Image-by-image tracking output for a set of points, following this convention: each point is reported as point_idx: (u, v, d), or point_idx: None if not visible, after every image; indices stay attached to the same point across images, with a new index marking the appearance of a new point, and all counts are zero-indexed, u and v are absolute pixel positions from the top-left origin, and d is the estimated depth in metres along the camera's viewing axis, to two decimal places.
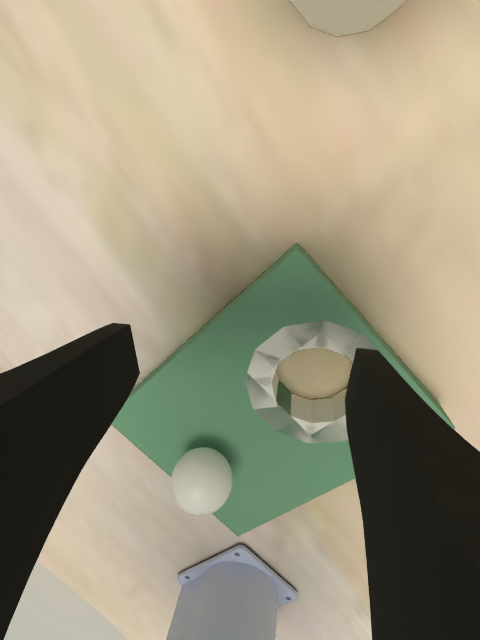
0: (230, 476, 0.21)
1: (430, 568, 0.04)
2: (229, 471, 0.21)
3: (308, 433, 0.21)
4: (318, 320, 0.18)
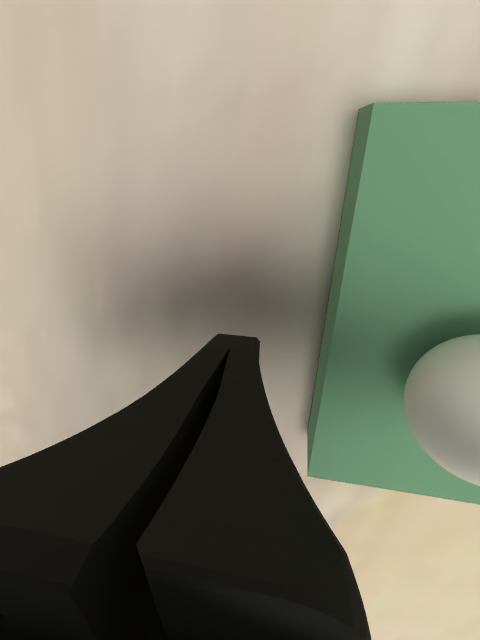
0: None
1: None
2: None
3: None
4: None
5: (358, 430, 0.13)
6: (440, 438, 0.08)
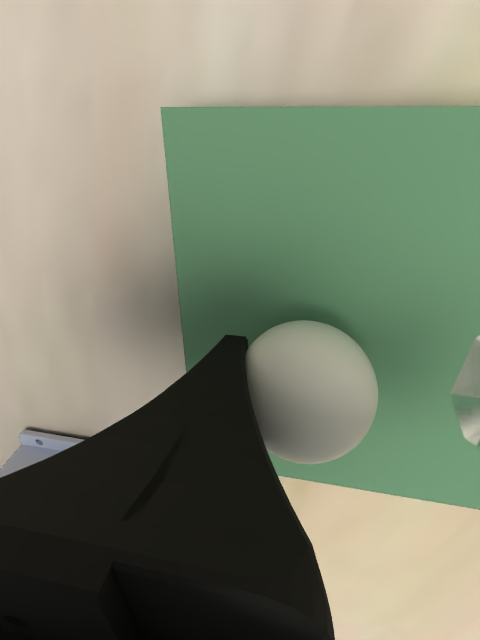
0: None
1: None
2: None
3: None
4: None
5: None
6: None
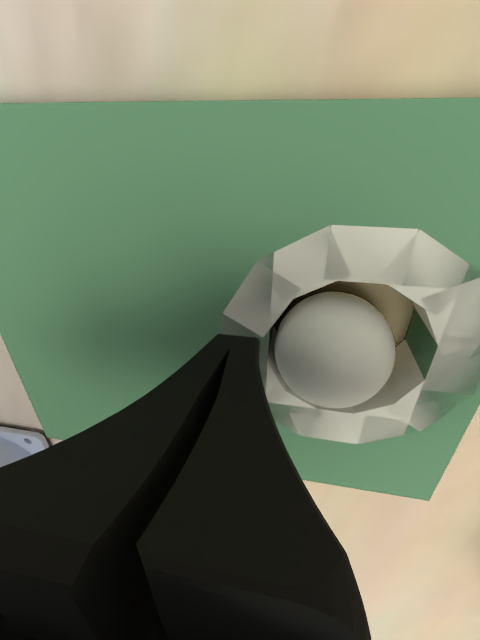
0: (347, 398, 0.10)
1: None
2: (354, 393, 0.10)
3: None
4: (477, 267, 0.09)
5: (55, 391, 0.14)
6: None
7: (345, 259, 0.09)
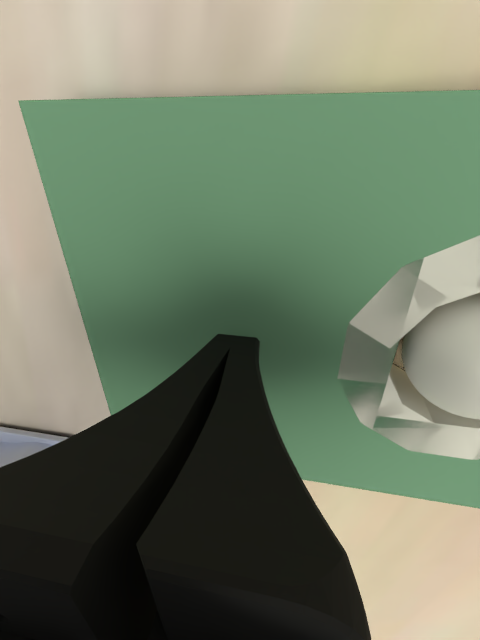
0: None
1: None
2: None
3: (378, 412, 0.12)
4: None
5: None
6: None
7: None
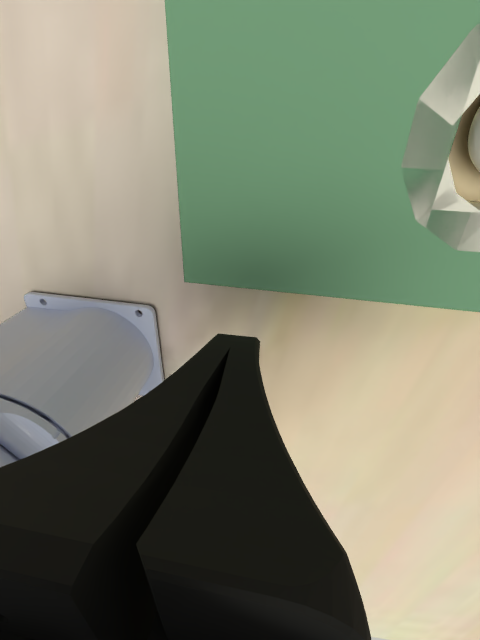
0: None
1: None
2: None
3: (433, 204, 0.13)
4: None
5: (212, 219, 0.15)
6: (468, 149, 0.13)
7: None
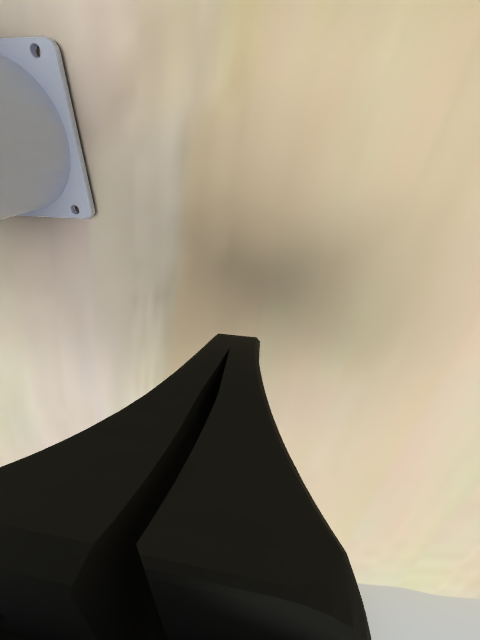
0: None
1: None
2: None
3: None
4: None
5: None
6: None
7: None
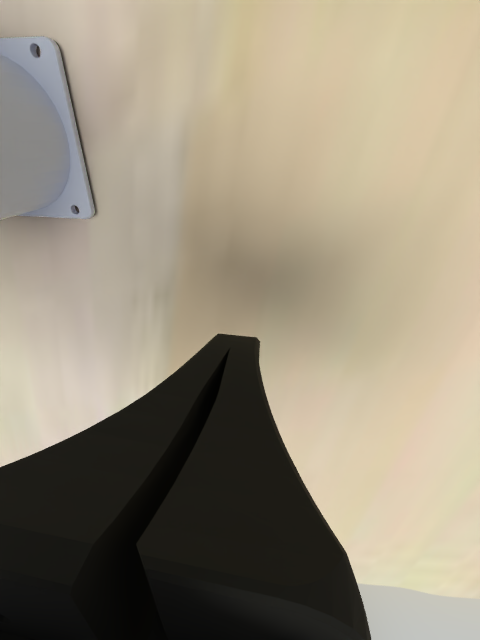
0: None
1: None
2: None
3: None
4: None
5: None
6: None
7: None
